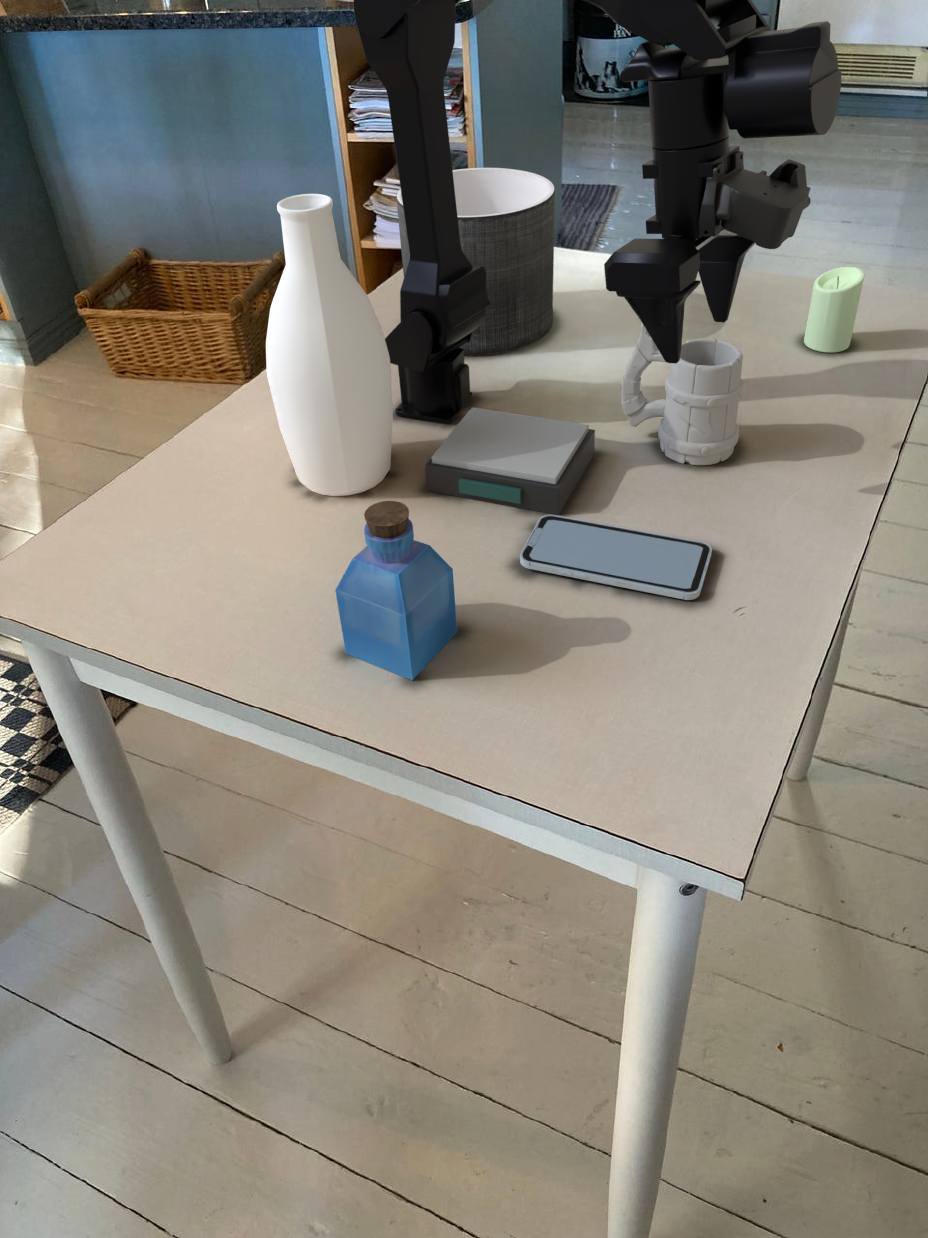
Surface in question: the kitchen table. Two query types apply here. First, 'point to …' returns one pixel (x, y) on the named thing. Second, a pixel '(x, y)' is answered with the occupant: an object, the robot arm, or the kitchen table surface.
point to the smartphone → (617, 556)
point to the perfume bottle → (396, 596)
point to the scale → (512, 460)
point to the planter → (505, 252)
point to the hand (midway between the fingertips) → (697, 341)
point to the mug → (689, 398)
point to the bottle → (327, 359)
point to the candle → (833, 309)
